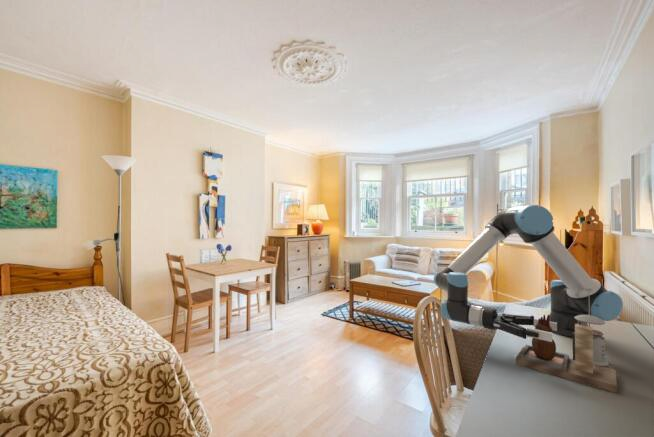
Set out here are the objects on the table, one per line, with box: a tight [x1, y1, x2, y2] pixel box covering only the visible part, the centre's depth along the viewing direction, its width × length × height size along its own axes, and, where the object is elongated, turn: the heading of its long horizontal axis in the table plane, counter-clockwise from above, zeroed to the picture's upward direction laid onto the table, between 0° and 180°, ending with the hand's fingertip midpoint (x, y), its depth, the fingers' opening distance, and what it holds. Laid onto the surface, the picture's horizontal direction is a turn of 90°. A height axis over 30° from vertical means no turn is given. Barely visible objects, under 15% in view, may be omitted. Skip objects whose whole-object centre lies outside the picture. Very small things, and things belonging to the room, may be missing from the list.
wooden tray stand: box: [515, 324, 618, 394], centre depth 93 cm, size 24×13×15 cm, turn 46°
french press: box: [571, 288, 610, 367], centre depth 102 cm, size 10×12×25 cm
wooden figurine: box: [531, 314, 557, 360], centre depth 96 cm, size 7×6×15 cm
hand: (554, 331), depth 94 cm, fingers open, 13 cm apart
